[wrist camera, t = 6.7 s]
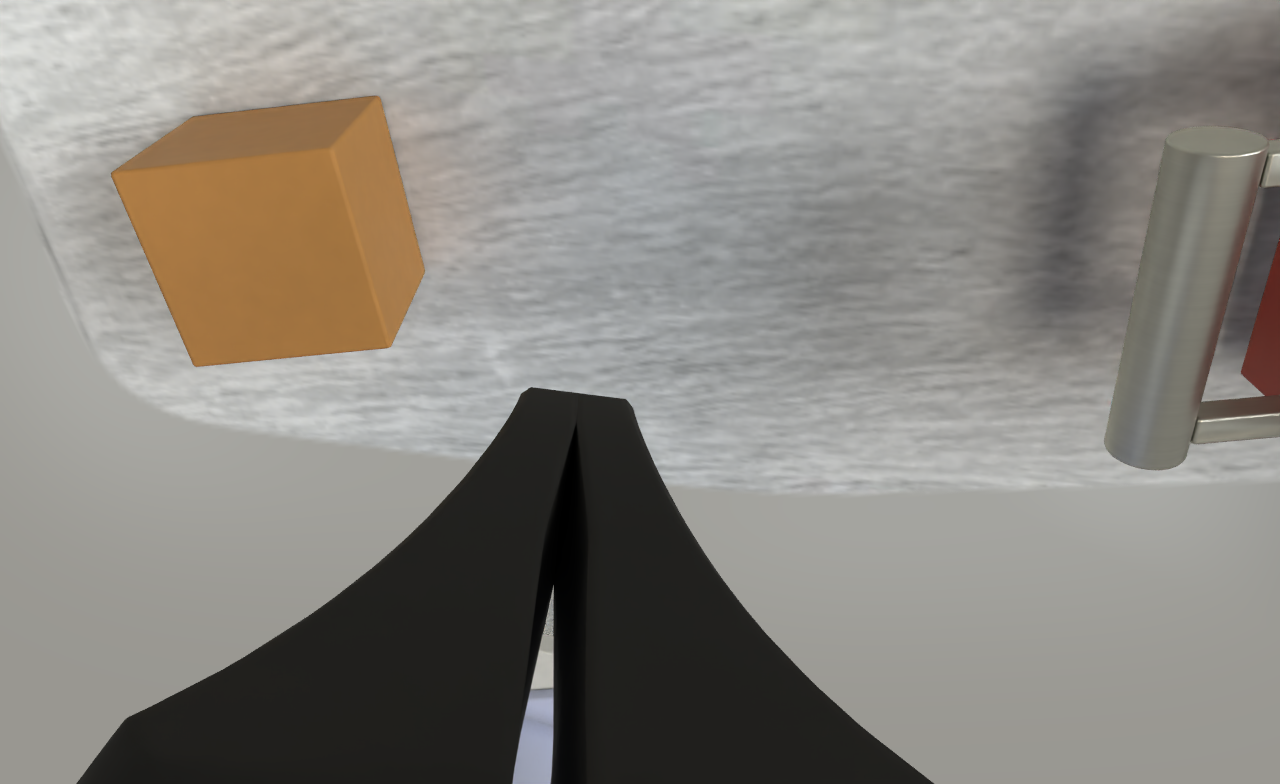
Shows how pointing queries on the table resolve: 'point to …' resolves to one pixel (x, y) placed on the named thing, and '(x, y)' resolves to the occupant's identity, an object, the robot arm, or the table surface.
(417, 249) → the orange brown cube
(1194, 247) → the drawer
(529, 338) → the table surface
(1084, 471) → the table surface
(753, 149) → the table surface
